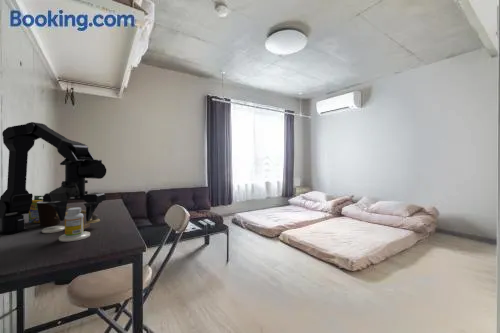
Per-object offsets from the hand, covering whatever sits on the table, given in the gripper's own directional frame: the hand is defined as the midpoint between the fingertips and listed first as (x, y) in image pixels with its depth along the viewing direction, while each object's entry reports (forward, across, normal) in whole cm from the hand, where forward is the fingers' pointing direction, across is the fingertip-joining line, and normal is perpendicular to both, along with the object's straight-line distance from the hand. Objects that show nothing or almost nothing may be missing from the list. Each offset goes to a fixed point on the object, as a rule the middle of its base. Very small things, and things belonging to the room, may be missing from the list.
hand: (75, 220), depth 82 cm
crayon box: (+6, -30, +19) cm, 36 cm away
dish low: (+6, 0, 0) cm, 6 cm away
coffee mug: (+6, -22, +17) cm, 29 cm away
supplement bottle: (+5, 0, 0) cm, 5 cm away
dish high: (+6, -14, +8) cm, 17 cm away
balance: (+6, -7, +11) cm, 14 cm away
